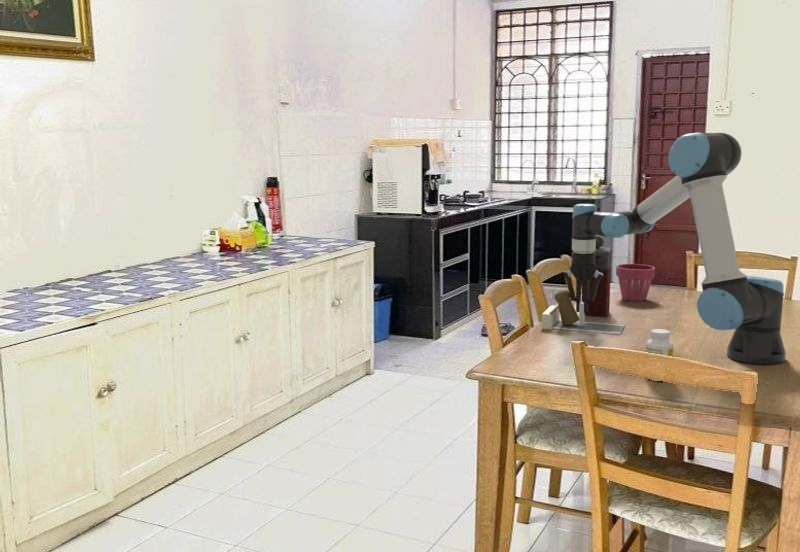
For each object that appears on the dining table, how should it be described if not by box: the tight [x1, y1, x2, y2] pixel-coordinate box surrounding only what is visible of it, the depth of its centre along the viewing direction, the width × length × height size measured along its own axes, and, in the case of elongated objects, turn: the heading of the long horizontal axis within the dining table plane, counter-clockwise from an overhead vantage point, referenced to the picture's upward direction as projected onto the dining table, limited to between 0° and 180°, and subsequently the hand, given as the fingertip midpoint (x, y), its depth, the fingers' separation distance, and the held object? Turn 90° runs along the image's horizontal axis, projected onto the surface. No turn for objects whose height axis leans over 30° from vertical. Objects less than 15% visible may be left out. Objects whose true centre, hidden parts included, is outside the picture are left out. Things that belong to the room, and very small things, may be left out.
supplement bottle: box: [645, 328, 674, 382], centre depth 205 cm, size 7×7×13 cm
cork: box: [553, 289, 579, 325], centre depth 263 cm, size 6×6×11 cm
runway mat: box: [551, 319, 626, 335], centre depth 261 cm, size 12×22×1 cm, turn 68°
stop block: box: [541, 303, 561, 330], centre depth 265 cm, size 14×3×6 cm, turn 158°
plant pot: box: [615, 263, 656, 302], centre depth 304 cm, size 14×14×13 cm
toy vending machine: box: [581, 235, 612, 318], centre depth 277 cm, size 9×11×28 cm
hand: (581, 321), depth 262 cm, fingers closed
